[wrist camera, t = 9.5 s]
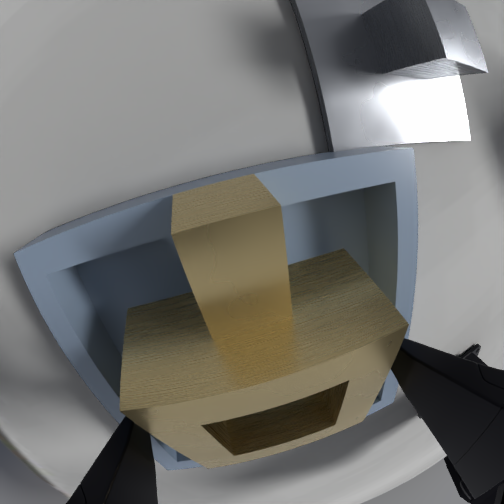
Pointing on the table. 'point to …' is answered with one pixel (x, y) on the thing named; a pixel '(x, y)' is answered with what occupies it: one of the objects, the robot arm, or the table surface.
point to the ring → (254, 336)
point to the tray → (172, 272)
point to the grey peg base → (390, 69)
